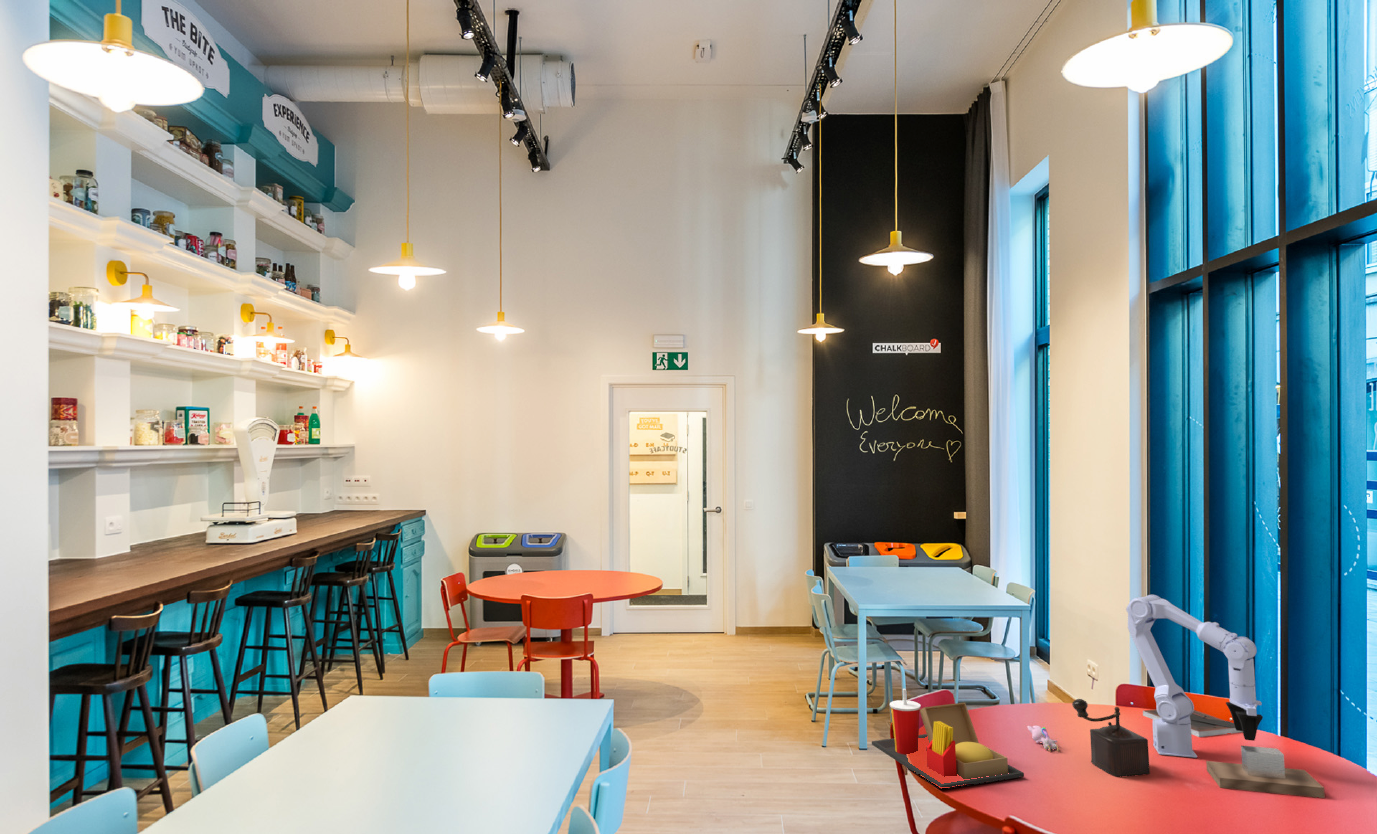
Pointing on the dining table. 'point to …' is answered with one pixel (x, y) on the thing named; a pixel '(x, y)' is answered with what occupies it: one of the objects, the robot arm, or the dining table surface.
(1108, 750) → the dark brown coffee grinder
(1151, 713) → the picture frame
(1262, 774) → the aluminium block
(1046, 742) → the unicorn plush toy
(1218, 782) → the walnut plinth
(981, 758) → the fast food meal
